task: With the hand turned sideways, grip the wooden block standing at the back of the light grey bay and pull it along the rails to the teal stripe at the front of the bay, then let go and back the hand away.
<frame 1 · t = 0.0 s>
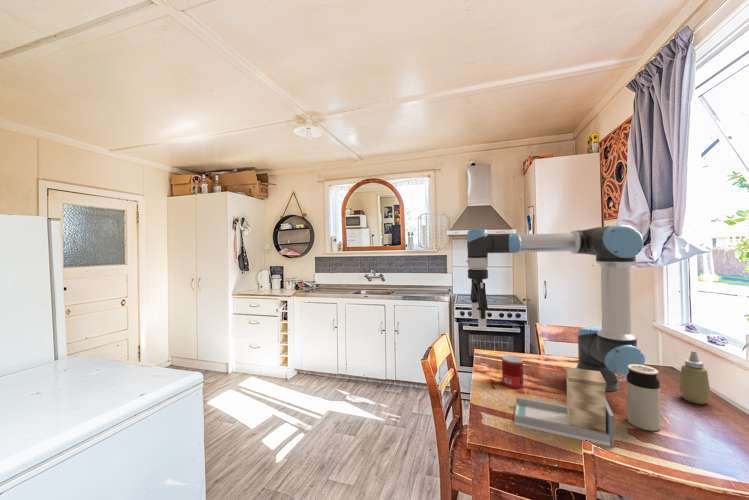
hand: (478, 322, 121), 28 cm above the table, tool pointing down, fingers open, 13 cm apart
squeeze bottle: (694, 401, 113), on the table
canned food: (512, 385, 128), on the table
travel mug: (643, 425, 99), on the table
wooden block: (585, 399, 97), point 9 cm above the table, slide at 0.0 cm
bay: (559, 423, 100), on the table
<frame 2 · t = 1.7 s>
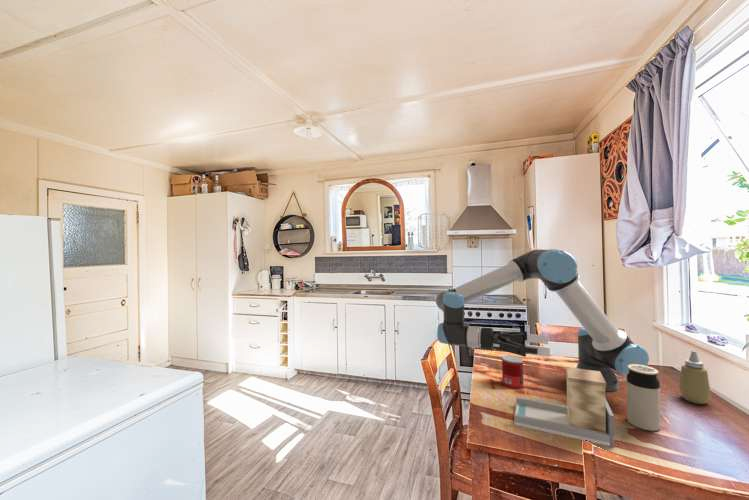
hand: (548, 345, 101), 25 cm above the table, tool horizontal, fingers open, 13 cm apart
nothing on the table moved.
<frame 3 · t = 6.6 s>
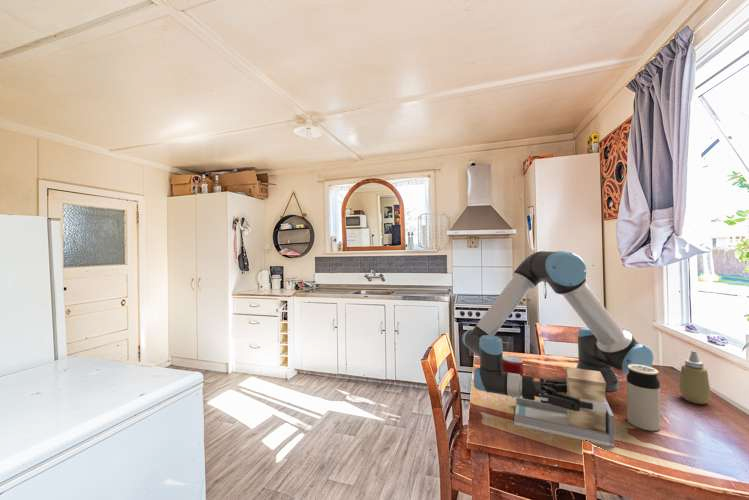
hand: (602, 400, 95), 10 cm above the table, tool horizontal, fingers closed on wooden block, 9 cm apart
wooden block: (584, 399, 97), point 9 cm above the table, slide at 0.0 cm, touching gripper
everything else where it was.
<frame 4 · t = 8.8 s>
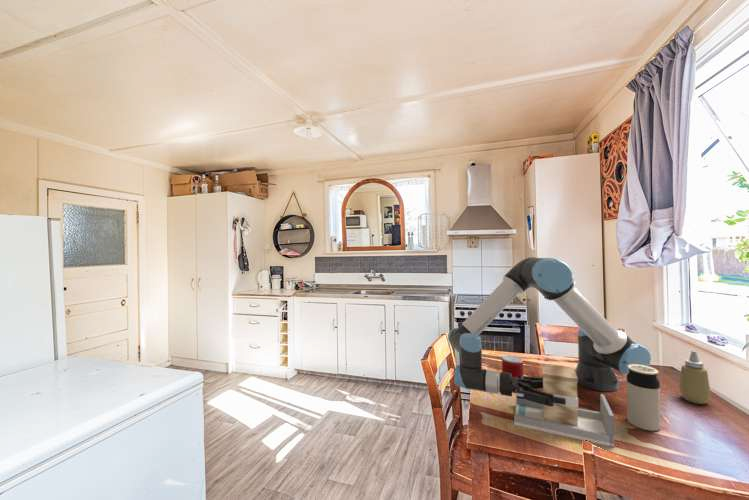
hand: (575, 395, 98), 10 cm above the table, tool horizontal, fingers closed on wooden block, 9 cm apart
wooden block: (559, 395, 100), point 9 cm above the table, slide at 7.0 cm, touching gripper
everything else where it was.
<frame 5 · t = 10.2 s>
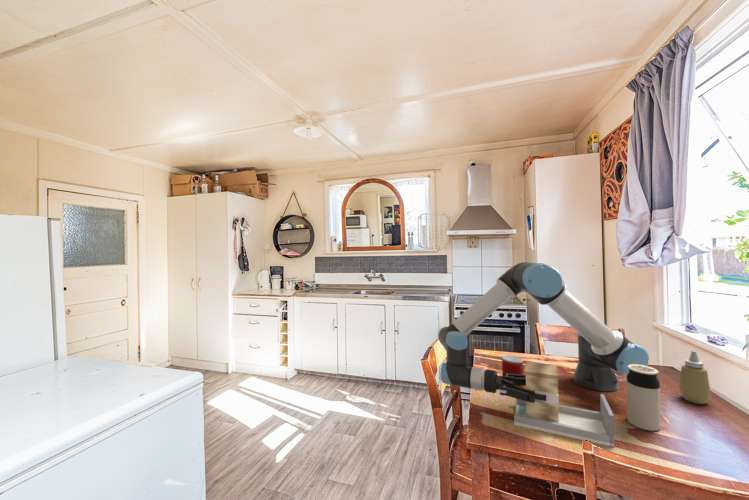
hand: (557, 392, 100), 10 cm above the table, tool horizontal, fingers closed on wooden block, 9 cm apart
wooden block: (541, 392, 102), point 9 cm above the table, slide at 12.0 cm, touching gripper
everything else where it was.
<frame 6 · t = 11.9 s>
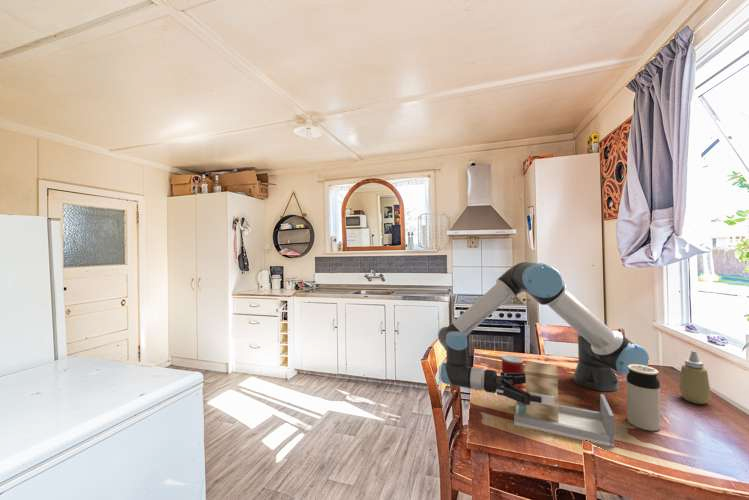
hand: (552, 391, 101), 10 cm above the table, tool horizontal, fingers open, 13 cm apart
wooden block: (541, 392, 102), point 9 cm above the table, slide at 12.0 cm
everything else where it was.
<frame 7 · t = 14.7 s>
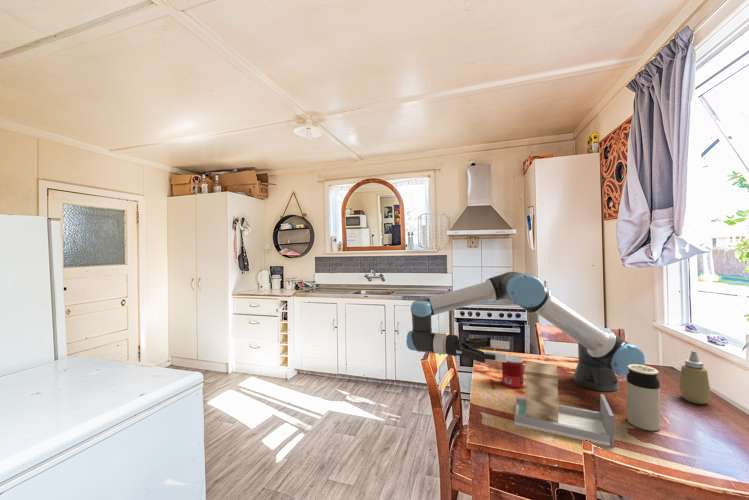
hand: (508, 351, 107), 21 cm above the table, tool horizontal, fingers open, 13 cm apart
nothing on the table moved.
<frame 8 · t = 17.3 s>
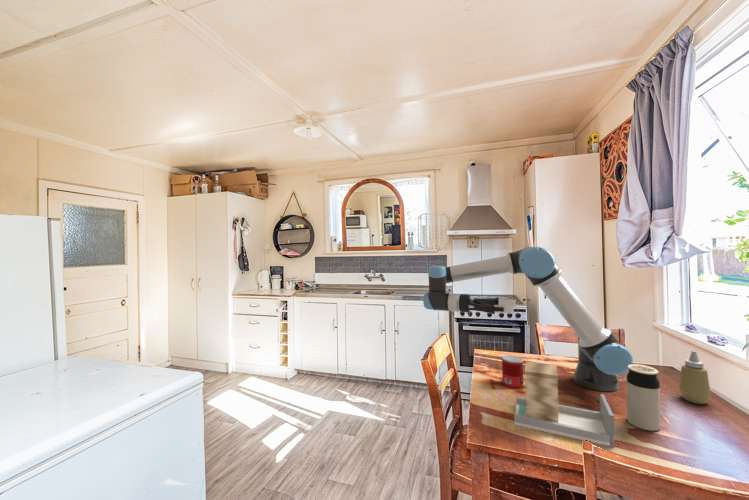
hand: (514, 306, 121), 34 cm above the table, tool horizontal, fingers open, 13 cm apart
nothing on the table moved.
at the end: wooden block slide at 12.0 cm; the gripper is holding nothing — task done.
